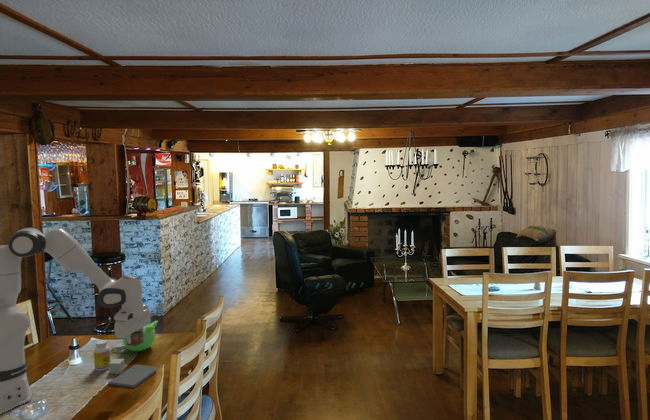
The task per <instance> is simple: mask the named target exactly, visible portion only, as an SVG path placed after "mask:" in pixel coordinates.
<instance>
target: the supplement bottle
mask: <svg viewBox="0 0 650 420" xmlns="http://www.w3.org/2000/svg"><path fill="white" fill-rule="evenodd" d="M95 346H96V347H95V348H94V349H93V357H94V358H93V359H94V370H95V371H98V372H102V371H103V372H104V371H106V370H109V363H110V362H111V356H110V355H111V354H110V353H111V352H110V351H111V350H110V347H109V345H108V341H107V340H104V339H103V340H98V341H96V342H95Z"/></svg>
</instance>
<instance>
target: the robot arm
mask: <svg viewBox="0 0 650 420" xmlns="http://www.w3.org/2000/svg"><path fill="white" fill-rule="evenodd" d="M43 252H46V253H48V254H49V255H50V257H52V258H53V259H54V261H56V263H58V265H60V266H61V267H62V268H64V269H65V270H67V271H69V272H78V273H82V274H83V275H85V276H86V277H87V278H88V279H89V281H91V282H92V283H93V284H94V285H95V286H96V287H97V289H98V294H97V299H96V300H97V303H98V305H100V307H102V308H105V309H112V308H115V307H119V306H121V308H119V309H120V310H119V311H118V312H116V313H115V315H114V316H113V319H114V321H115V322H114V336H115V338H116V339H123V338H126V339H127V343H128V344H131V343H132V342H133V339H131V338H130V336H131V334H132V333H134V332H135V331H137V330H138V331H143V329H144V328H143V327H144V326H146V325H148V324H151V323H152V319H151V318H152V317H151V316H152V315H151V311H150V309H149V305H146V304H144V301H143V298H142V297H143V285H142V280H141V279H140V278H139V277H138V276H137V275H133V274H125V275H122V276H121V277H120V278H119V279H117V278H116V279H115V278H113V277H111V276H109V275H108V274H107V273H106V272H105V271H104V270H103V269H102V268H101V267H100V266H98V265H97V264H96V262H95V261H94V260H93V259H92V258H91V256H90V255H89V254H88V252H87V251H86V249H85V248H84V247H83V245H81V243H80V242H79V241H78V240H77V239H76V238H74V237H73V236H72V235H71V234H70V233H69V232H68V231H66V230H65V229H63V228H59V227H55V228H52V229H50V230H48V231H47V232H43V231H42V230H41V229H39V228H37V227H34V226H28V227H24V228H21V229H18V230H17V231H16V232H15V233H14V234H12V235H11V236H10V237H9V239H8V244H2V245H0V415H2V413H3V414H5V413H7V412H9V411H11V410H13V409H12V408H13V407H15V406H17V405H20V404H22V403H24V402H27V401H29V400H32V395H33V391H32V389H31V387H30V385H29V380H28V375H27V371H28V367H27V366H28V365H27V364H28V363H27V361H26V357H25V340H26V334H27V331H28V330H29V328H30V325H31V318H30V317H29V316H28V314H27V313H26V312H25V311H24V310H22V309H19V308H18V307H17V301H18V296H19V294H20V293H21V291H22V276H21V275H22V274H21V273H22V271H21V270H22V269H21V268H22V267H21V262H22V260H23V258H29V257H32V256H34V255H38V254H40V253H43ZM29 402H30V401H29ZM27 403H28V402H27ZM24 404H25V403H24ZM22 405H23V404H22ZM20 406H21V405H20ZM10 409H11V410H10ZM8 410H9V411H8ZM6 411H7V412H6ZM4 412H5V413H4Z"/></svg>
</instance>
